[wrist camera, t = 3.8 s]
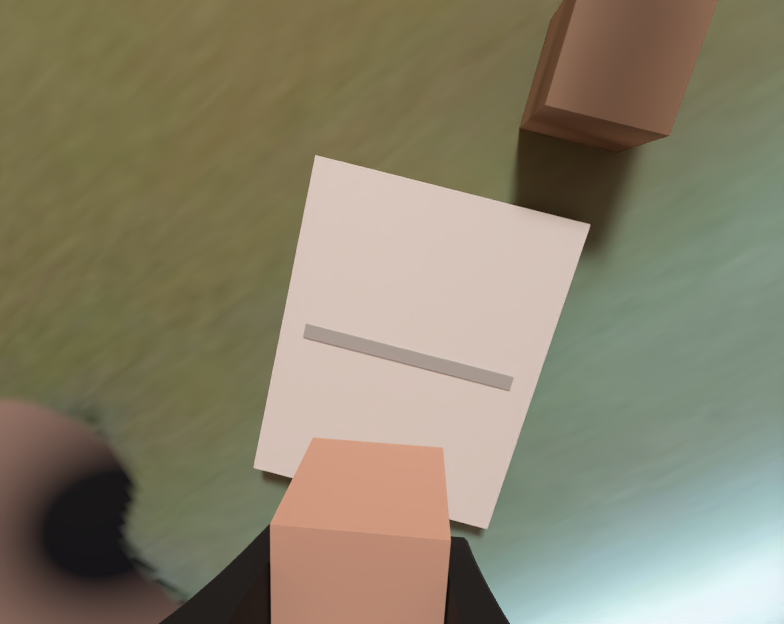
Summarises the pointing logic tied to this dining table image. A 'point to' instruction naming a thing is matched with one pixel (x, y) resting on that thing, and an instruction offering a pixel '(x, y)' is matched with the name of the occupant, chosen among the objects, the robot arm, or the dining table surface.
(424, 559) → the terracotta block
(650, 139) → the walnut block
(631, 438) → the dining table surface
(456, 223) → the baseplate
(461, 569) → the robot arm
